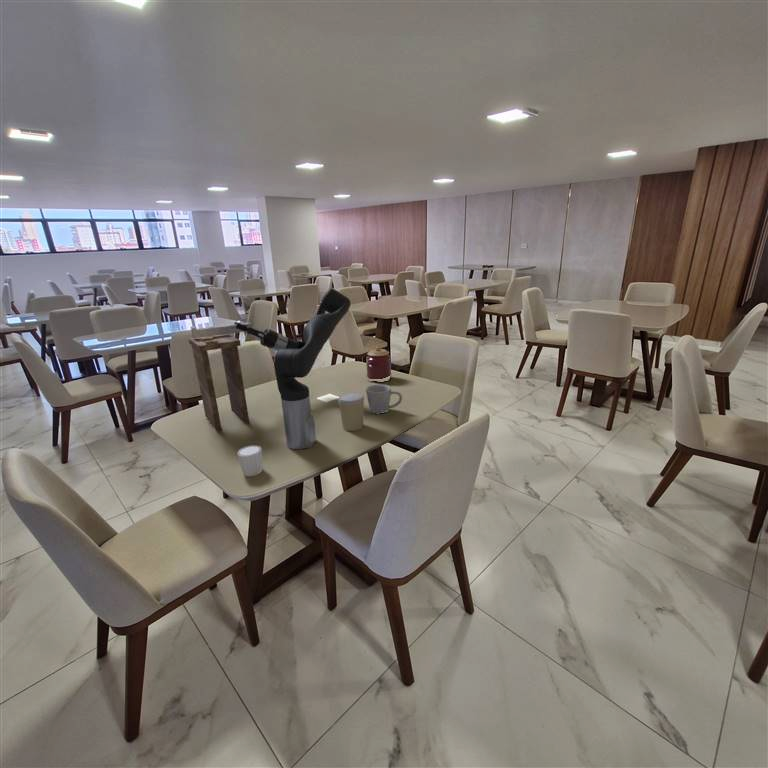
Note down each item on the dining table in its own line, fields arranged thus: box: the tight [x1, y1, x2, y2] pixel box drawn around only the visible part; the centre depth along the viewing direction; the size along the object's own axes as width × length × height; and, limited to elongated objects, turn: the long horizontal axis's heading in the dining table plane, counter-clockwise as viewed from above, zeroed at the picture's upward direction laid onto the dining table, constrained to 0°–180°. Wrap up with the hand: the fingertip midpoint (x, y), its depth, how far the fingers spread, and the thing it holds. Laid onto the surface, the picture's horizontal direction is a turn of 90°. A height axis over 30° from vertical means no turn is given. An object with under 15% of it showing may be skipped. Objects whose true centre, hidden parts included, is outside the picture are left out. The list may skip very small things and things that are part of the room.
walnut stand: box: [188, 334, 250, 432], centre depth 148 cm, size 14×20×34 cm
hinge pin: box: [190, 322, 253, 338], centre depth 149 cm, size 22×4×4 cm, turn 126°
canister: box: [365, 346, 392, 379], centre depth 196 cm, size 13×13×18 cm
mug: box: [365, 383, 403, 413], centre depth 154 cm, size 10×15×10 cm
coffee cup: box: [337, 392, 365, 432], centre depth 140 cm, size 9×9×12 cm
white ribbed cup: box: [237, 445, 263, 477], centre depth 113 cm, size 7×7×7 cm
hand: (235, 324), depth 151 cm, fingers closed on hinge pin, 3 cm apart
